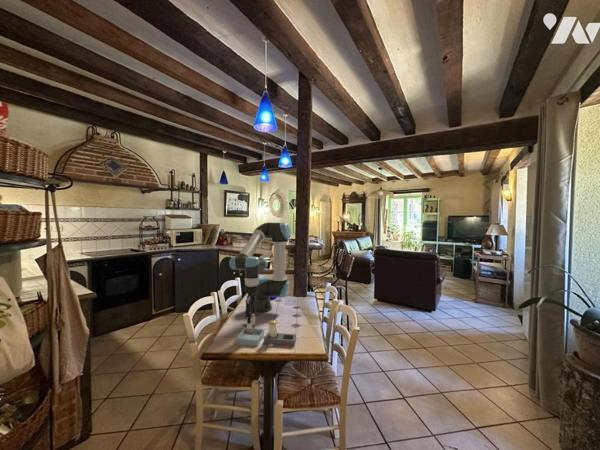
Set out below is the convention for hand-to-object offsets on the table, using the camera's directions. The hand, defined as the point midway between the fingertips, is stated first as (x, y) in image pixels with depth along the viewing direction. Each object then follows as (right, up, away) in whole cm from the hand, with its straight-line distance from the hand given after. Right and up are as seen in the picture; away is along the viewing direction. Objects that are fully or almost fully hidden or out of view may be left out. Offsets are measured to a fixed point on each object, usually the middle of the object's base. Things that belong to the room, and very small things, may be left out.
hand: (250, 326), depth 142 cm
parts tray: (0, -7, 0) cm, 7 cm away
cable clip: (+6, -6, +76) cm, 77 cm away
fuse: (+13, -6, -2) cm, 14 cm away
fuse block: (+17, -7, -2) cm, 18 cm away
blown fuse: (0, -3, 0) cm, 3 cm away
